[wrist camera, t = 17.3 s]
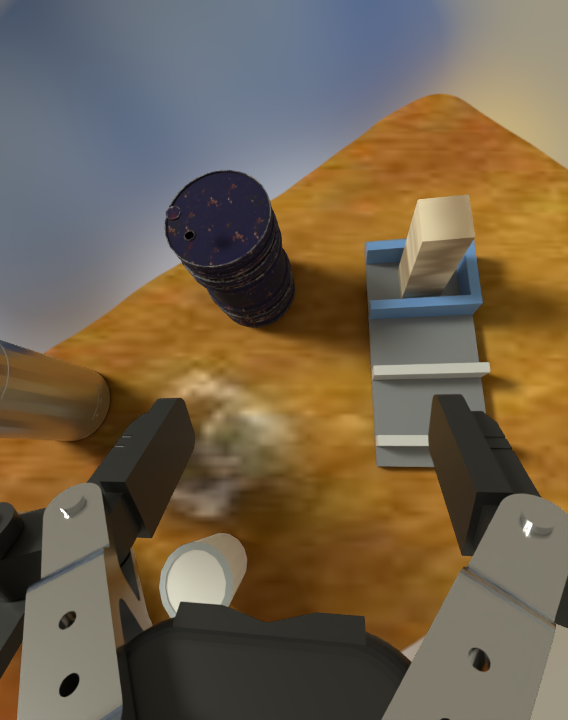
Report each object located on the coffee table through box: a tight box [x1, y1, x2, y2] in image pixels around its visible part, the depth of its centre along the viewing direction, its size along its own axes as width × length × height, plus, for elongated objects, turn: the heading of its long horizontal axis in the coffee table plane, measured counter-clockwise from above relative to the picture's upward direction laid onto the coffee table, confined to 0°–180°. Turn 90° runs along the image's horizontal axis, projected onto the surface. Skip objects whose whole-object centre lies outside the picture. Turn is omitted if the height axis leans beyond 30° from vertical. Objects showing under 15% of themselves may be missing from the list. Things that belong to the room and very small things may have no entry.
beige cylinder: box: [159, 533, 247, 618], centre depth 34 cm, size 7×7×7 cm
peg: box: [398, 195, 475, 299], centre depth 35 cm, size 4×4×12 cm
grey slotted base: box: [364, 238, 490, 467], centre depth 38 cm, size 11×26×4 cm, turn 179°
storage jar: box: [165, 170, 295, 327], centre depth 37 cm, size 10×10×18 cm
